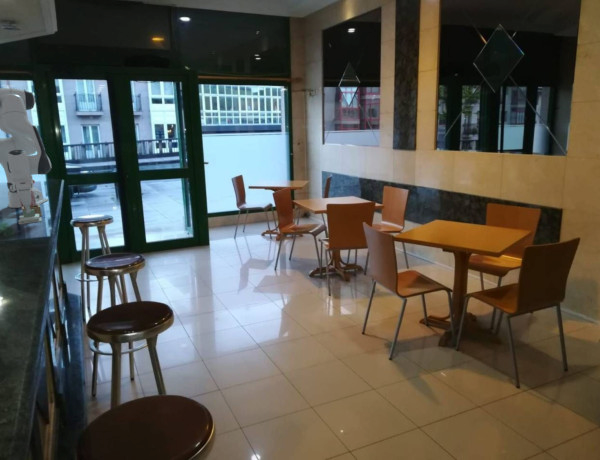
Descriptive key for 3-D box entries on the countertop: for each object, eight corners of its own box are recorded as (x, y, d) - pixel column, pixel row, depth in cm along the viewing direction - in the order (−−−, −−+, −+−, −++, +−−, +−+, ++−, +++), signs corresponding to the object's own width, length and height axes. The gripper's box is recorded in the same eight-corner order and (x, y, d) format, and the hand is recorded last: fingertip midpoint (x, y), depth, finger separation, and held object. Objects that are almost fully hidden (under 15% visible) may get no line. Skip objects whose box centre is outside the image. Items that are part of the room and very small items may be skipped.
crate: (23, 216, 246) (21, 206, 245) (40, 213, 250) (39, 204, 249) (24, 218, 240) (22, 209, 238) (41, 216, 243) (40, 206, 242)
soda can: (30, 212, 253) (26, 190, 250) (19, 212, 255) (15, 191, 252) (40, 210, 260) (36, 188, 257) (29, 210, 262) (25, 188, 258)
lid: (20, 220, 236) (18, 210, 234) (39, 217, 240) (37, 207, 238) (20, 223, 229) (18, 213, 227) (40, 220, 233) (38, 210, 231)
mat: (18, 220, 236) (18, 220, 236) (41, 217, 241) (40, 216, 241) (18, 224, 227) (18, 223, 227) (42, 221, 232) (42, 220, 232)
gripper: (15, 182, 236) (20, 209, 240) (15, 187, 219) (21, 216, 223) (29, 180, 240) (34, 207, 243) (31, 185, 223) (36, 214, 226)
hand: (28, 211), depth 233 cm, fingers open, 4 cm apart
